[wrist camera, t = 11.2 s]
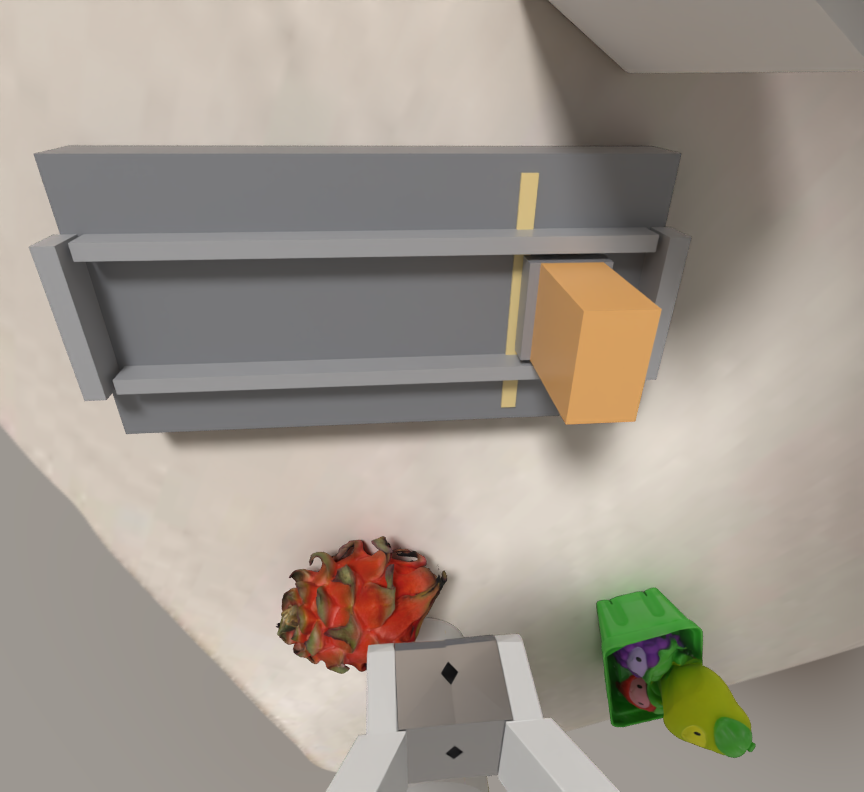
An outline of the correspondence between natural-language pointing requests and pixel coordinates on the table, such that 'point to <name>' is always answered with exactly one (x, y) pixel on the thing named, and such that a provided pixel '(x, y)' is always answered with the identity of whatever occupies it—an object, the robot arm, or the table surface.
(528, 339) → the fader
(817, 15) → the milk carton
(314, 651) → the dragon fruit
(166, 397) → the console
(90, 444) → the table surface
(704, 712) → the fruit basket
